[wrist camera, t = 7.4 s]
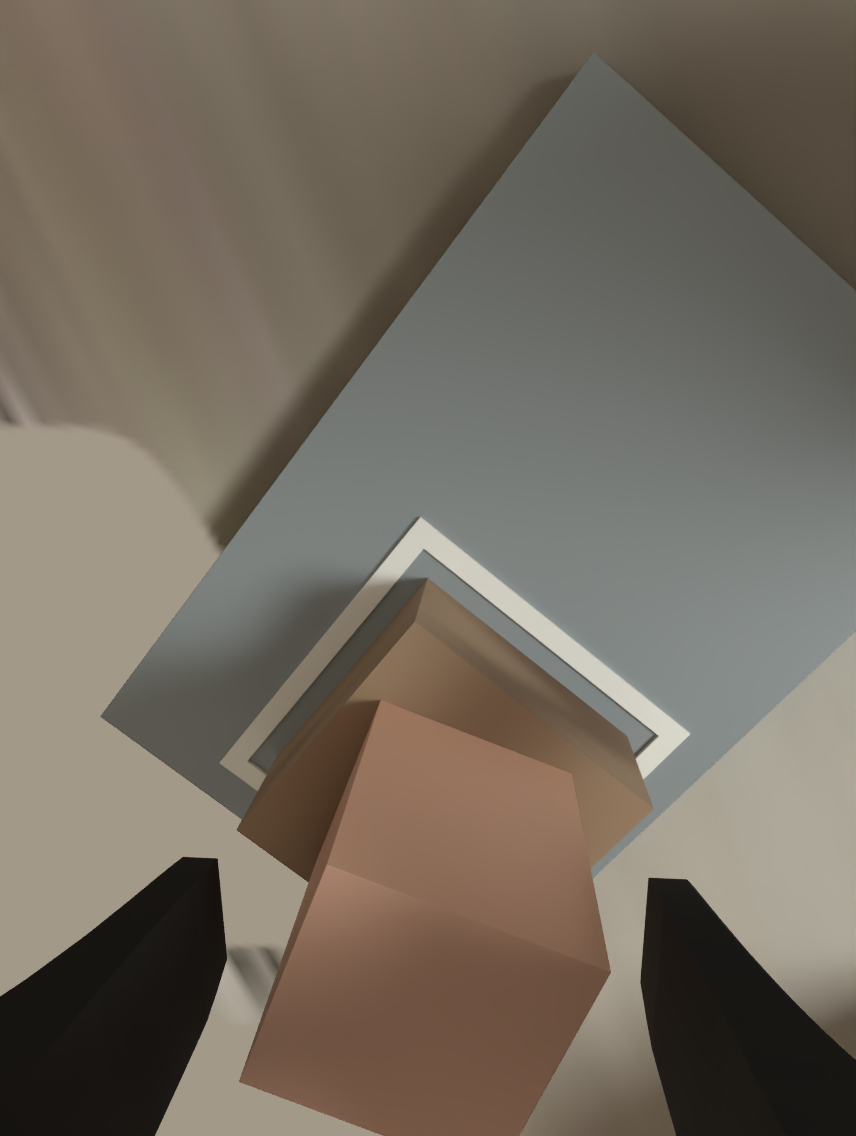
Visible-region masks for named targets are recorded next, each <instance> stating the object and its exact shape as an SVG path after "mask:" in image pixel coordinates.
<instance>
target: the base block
mask: <svg viewBox="0 0 856 1136" xmlns="http://www.w3.org/2000/svg"><path fill="white" fill-rule="evenodd" d="M380 700H382V701H384V702H387V703H390V704H392V705H395V706H397V707H400V708H403V709H405V710H408V711H410V712H413V713H416V714H418V715H421V716H423V717H426V718H429V719H431V720H434V721H436V722H439V723H441V724H444V725H447V726H449V727H452V728H454V729H457V730H460V731H462V732H465V733H467V734H470V735H473V736H475V737H478V738H480V739H483V740H486V741H488V742H491V743H493V744H496V745H499V746H501V747H504V748H506V749H509V750H511V751H514V752H517V753H519V754H522V755H524V756H527V757H530V758H532V759H535V760H537V761H540V762H543V763H545V764H548V765H550V766H553V767H556V768H558V769H561V770H563V771H566V772H569V773H571V774H572V778H573V783H574V788H575V793H576V798H577V803H578V808H579V813H580V818H581V823H582V828H583V833H584V839H585V844H586V849H587V854H588V859H589V864H590V869H591V868H592V867H593V866H594V865H595V864H596V863H597V862H598V861H599V860H600V859H601V858H602V857H603V856H604V855H605V854H606V853H607V852H609V851H610V850H611V849H612V848H613V847H614V846H615V845H616V844H617V843H618V842H619V841H620V840H621V839H622V838H623V837H624V836H625V835H626V834H628V833H629V832H630V831H631V830H632V829H633V828H634V827H635V826H636V825H637V824H638V823H639V822H640V821H641V820H642V819H643V818H644V817H646V816H647V815H648V814H649V813H650V812H651V811H652V810H653V809H654V808H653V805H652V802H651V800H650V797H649V794H648V791H647V789H646V786H645V783H644V781H643V778H642V775H641V772H640V770H639V767H638V764H637V761H636V759H635V756H634V753H633V750H632V748H631V745H630V742H629V740H628V737H627V735H625V734H624V733H623V732H622V731H620V730H619V729H618V728H616V727H615V726H614V725H613V724H611V723H610V722H609V721H608V720H606V719H605V718H604V717H603V716H601V715H600V714H599V713H598V712H596V711H595V710H594V709H593V708H591V707H590V706H589V705H587V704H586V703H585V702H584V701H582V700H581V699H580V698H579V697H577V696H576V695H575V694H574V693H572V692H571V691H570V690H569V689H567V688H566V687H565V686H564V685H562V684H561V683H560V682H558V681H557V680H556V679H555V678H553V677H552V676H551V675H550V674H548V673H547V672H546V671H545V670H543V669H542V668H541V667H540V666H538V665H537V664H536V663H535V662H533V661H532V660H531V659H529V658H528V657H527V656H526V655H524V654H523V653H522V652H521V651H519V650H518V649H517V648H516V647H514V646H513V645H512V644H511V643H509V642H508V641H507V640H506V639H504V638H503V637H502V636H500V635H499V634H498V633H497V632H495V631H494V630H493V629H492V628H490V627H489V626H488V625H487V624H485V623H484V622H483V621H482V620H480V619H479V618H478V617H477V616H475V615H474V614H473V613H471V612H470V611H469V610H468V609H466V608H465V607H464V606H463V605H461V604H460V603H459V602H458V601H456V600H455V599H454V598H453V597H451V596H450V595H449V594H448V593H446V592H445V591H444V590H442V589H441V588H440V587H439V586H437V585H436V584H435V583H434V582H432V581H431V580H430V579H429V578H427V579H426V580H425V582H424V583H423V584H422V585H421V586H420V588H419V589H418V590H417V591H416V592H415V593H414V595H413V596H412V597H411V598H410V599H409V601H408V602H407V603H406V604H405V605H404V607H403V608H402V609H401V610H400V611H399V612H398V614H397V615H396V616H395V617H394V618H393V620H392V621H391V622H390V623H389V624H388V625H387V627H386V628H385V629H384V630H383V631H382V633H381V634H380V635H379V636H378V637H377V639H376V640H375V641H374V642H373V643H372V644H371V646H370V647H369V648H368V649H367V650H366V652H365V653H364V654H363V655H362V656H361V657H360V659H359V660H358V661H357V662H356V663H355V665H354V666H353V667H352V668H351V669H350V671H349V672H348V673H347V674H346V675H345V676H344V678H343V679H342V680H341V681H340V682H339V684H338V685H337V686H336V687H335V688H334V689H333V691H332V692H331V693H330V694H329V695H328V697H327V698H326V699H325V700H324V701H323V703H322V704H321V705H320V706H319V707H318V708H317V710H316V711H315V712H314V713H313V714H312V716H311V717H310V718H309V719H308V720H307V721H306V723H305V724H304V725H303V726H302V727H301V729H300V730H299V731H298V732H297V733H296V735H295V736H294V737H293V738H292V739H291V740H290V742H289V743H288V744H287V745H286V746H285V748H284V749H283V750H282V751H281V752H280V753H279V755H278V756H277V757H276V759H275V760H274V762H273V764H272V766H271V768H270V770H269V771H268V773H267V775H266V777H265V779H264V781H263V782H262V784H261V786H260V788H259V790H258V792H257V793H256V795H255V797H254V799H253V801H252V803H251V805H250V806H249V808H248V810H247V812H246V814H245V816H244V817H243V819H242V821H241V823H240V825H239V827H238V829H237V831H238V832H240V833H241V834H243V835H244V836H245V837H247V838H248V839H250V840H251V841H252V842H254V843H255V844H257V845H258V846H259V847H261V848H262V849H263V850H265V851H266V852H267V853H269V854H270V855H272V856H273V857H274V858H276V859H277V860H279V861H280V862H281V863H283V864H284V865H285V866H287V867H288V868H290V869H291V870H292V871H294V872H295V873H296V874H298V875H299V876H301V877H302V878H303V879H305V880H306V881H307V882H309V880H310V878H311V875H312V872H313V869H314V866H315V863H316V861H317V858H318V856H319V853H320V851H321V848H322V846H323V843H324V841H325V838H326V836H327V833H328V831H329V828H330V826H331V823H332V821H333V818H334V816H335V813H336V811H337V808H338V806H339V803H340V801H341V798H342V796H343V793H344V791H345V788H346V786H347V783H348V781H349V778H350V776H351V773H352V771H353V768H354V766H355V763H356V761H357V758H358V756H359V753H360V751H361V748H362V746H363V743H364V741H365V738H366V736H367V733H368V731H369V728H370V726H371V723H372V721H373V718H374V716H375V713H376V711H377V708H378V705H379V703H380Z"/></svg>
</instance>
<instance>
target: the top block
mask: <svg viewBox="0 0 856 1136" xmlns="http://www.w3.org/2000/svg"><path fill="white" fill-rule="evenodd" d="M610 973H611V970H610V965H609V960H608V955H607V950H606V945H605V940H604V935H603V930H602V925H601V920H600V915H599V910H598V904H597V899H596V894H595V889H594V884H593V879H592V874H591V869H590V864H589V859H588V854H587V849H586V844H585V839H584V833H583V828H582V823H581V818H580V813H579V808H578V803H577V798H576V793H575V788H574V783H573V778H572V774H571V773H569V772H566V771H563V770H561V769H558V768H556V767H553V766H550V765H548V764H545V763H543V762H540V761H537V760H535V759H532V758H530V757H527V756H524V755H522V754H519V753H517V752H514V751H511V750H509V749H506V748H504V747H501V746H499V745H496V744H493V743H491V742H488V741H486V740H483V739H480V738H478V737H475V736H473V735H470V734H467V733H465V732H462V731H460V730H457V729H454V728H452V727H449V726H447V725H444V724H441V723H439V722H436V721H434V720H431V719H429V718H426V717H423V716H421V715H418V714H416V713H413V712H410V711H408V710H405V709H403V708H400V707H397V706H395V705H392V704H390V703H387V702H384V701H382V700H380V703H379V705H378V708H377V711H376V713H375V716H374V718H373V721H372V723H371V726H370V728H369V731H368V733H367V736H366V738H365V741H364V743H363V746H362V748H361V751H360V753H359V756H358V758H357V761H356V763H355V766H354V768H353V771H352V773H351V776H350V778H349V781H348V783H347V786H346V788H345V791H344V793H343V796H342V798H341V801H340V803H339V806H338V808H337V811H336V813H335V816H334V818H333V821H332V823H331V826H330V828H329V831H328V833H327V836H326V838H325V841H324V843H323V846H322V848H321V851H320V853H319V856H318V858H317V861H316V863H315V866H314V869H313V872H312V875H311V878H310V880H309V883H308V887H307V889H306V892H305V895H304V898H303V901H302V903H301V906H300V909H299V912H298V915H297V918H296V921H295V923H294V926H293V929H292V932H291V935H290V938H289V940H288V943H287V946H286V949H285V952H284V955H283V958H282V960H281V963H280V966H279V969H278V972H277V975H276V978H275V980H274V983H273V986H272V989H271V992H270V995H269V998H268V1000H267V1003H266V1006H265V1009H264V1012H263V1015H262V1018H261V1020H260V1023H259V1026H258V1029H257V1032H256V1035H255V1038H254V1041H253V1044H252V1046H251V1049H250V1052H249V1055H248V1058H247V1061H246V1063H245V1066H244V1069H243V1072H242V1075H241V1078H240V1080H239V1081H240V1082H241V1083H244V1084H247V1085H249V1086H252V1087H255V1088H257V1089H260V1090H262V1091H265V1092H268V1093H271V1094H273V1095H276V1096H279V1097H281V1098H284V1099H287V1100H289V1101H292V1102H295V1103H297V1104H300V1105H303V1106H305V1107H308V1108H311V1109H313V1110H316V1111H319V1112H321V1113H324V1114H327V1115H330V1116H332V1117H335V1118H338V1119H340V1120H343V1121H346V1122H349V1123H351V1124H354V1125H357V1126H359V1127H362V1128H365V1129H367V1130H370V1131H373V1132H375V1133H378V1134H381V1135H383V1136H519V1135H520V1133H521V1131H522V1129H523V1128H524V1126H525V1124H526V1122H527V1121H528V1119H529V1117H530V1115H531V1113H532V1112H533V1110H534V1108H535V1106H536V1105H537V1103H538V1101H539V1099H540V1097H541V1096H542V1094H543V1092H544V1090H545V1089H546V1087H547V1085H548V1083H549V1081H550V1080H551V1078H552V1076H553V1074H554V1073H555V1071H556V1069H557V1067H558V1065H559V1064H560V1062H561V1060H562V1058H563V1057H564V1055H565V1053H566V1051H567V1049H568V1048H569V1046H570V1044H571V1042H572V1041H573V1039H574V1037H575V1035H576V1033H577V1032H578V1030H579V1028H580V1026H581V1025H582V1023H583V1021H584V1019H585V1017H586V1016H587V1014H588V1012H589V1010H590V1009H591V1007H592V1005H593V1003H594V1001H595V1000H596V998H597V996H598V994H599V993H600V991H601V989H602V987H603V985H604V984H605V982H606V980H607V978H608V977H609V975H610Z"/></svg>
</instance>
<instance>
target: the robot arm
mask: <svg viewBox="0 0 856 1136" xmlns="http://www.w3.org/2000/svg"><path fill="white" fill-rule="evenodd" d="M226 961H227V953H226V943H225V933H224V922H223V912H222V901H221V891H220V879H219V869H218V859H216V858H193V857H182V858H181V859H180V860H179V861H177V862H176V863H175V864H173V865H172V866H171V867H170V868H168V869H167V870H166V871H165V872H163V873H162V874H161V875H160V876H158V877H157V878H156V879H155V880H154V881H152V882H151V883H150V884H149V885H148V886H147V887H145V888H144V889H143V890H142V891H140V892H139V893H138V894H137V895H135V896H134V897H133V898H132V899H131V900H129V901H128V902H127V903H126V904H124V905H123V906H122V907H121V908H120V909H118V910H117V911H116V912H114V913H113V914H112V915H111V916H109V917H108V918H107V919H106V920H104V921H103V922H102V923H101V924H100V925H98V926H97V927H96V928H94V929H93V930H92V931H91V932H89V933H88V934H87V935H86V936H84V937H83V938H82V939H80V940H79V941H78V942H77V943H75V944H73V945H72V946H71V947H69V948H68V949H67V950H65V951H64V952H63V953H61V954H60V955H59V956H57V957H56V958H54V959H53V960H52V961H50V962H49V963H48V964H46V965H45V966H44V967H42V968H41V969H40V970H38V971H37V972H35V973H34V974H33V975H31V976H30V977H28V978H27V979H26V980H24V981H23V982H21V983H20V984H18V985H17V986H15V987H14V988H12V989H11V990H9V991H8V992H6V993H5V994H3V995H2V996H0V1136H155V1134H156V1132H157V1130H158V1128H159V1126H160V1123H161V1121H162V1119H163V1117H164V1115H165V1112H166V1110H167V1108H168V1106H169V1104H170V1101H171V1099H172V1097H173V1095H174V1093H175V1091H176V1089H177V1086H178V1084H179V1082H180V1080H181V1078H182V1075H183V1073H184V1071H185V1069H186V1067H187V1064H188V1062H189V1060H190V1058H191V1056H192V1053H193V1051H194V1049H195V1047H196V1045H197V1042H198V1040H199V1038H200V1036H201V1033H202V1031H203V1029H204V1027H205V1024H206V1022H207V1020H208V1017H209V1014H210V1011H211V1008H212V1005H213V1002H214V999H215V996H216V993H217V990H218V986H219V983H220V980H221V977H222V973H223V970H224V967H225V964H226ZM640 982H641V988H642V994H643V1000H644V1006H645V1013H646V1019H647V1024H648V1030H649V1035H650V1041H651V1047H652V1051H653V1054H654V1058H655V1062H656V1065H657V1069H658V1072H659V1076H660V1079H661V1083H662V1087H663V1090H664V1094H665V1097H666V1101H667V1104H668V1108H669V1111H670V1115H671V1118H672V1122H673V1125H674V1129H675V1132H676V1136H856V1060H855V1059H854V1058H853V1057H852V1056H851V1055H849V1054H848V1053H847V1052H846V1051H845V1050H844V1049H843V1048H841V1047H840V1046H839V1045H838V1044H837V1043H836V1042H835V1041H834V1040H833V1039H832V1038H831V1037H830V1036H829V1035H827V1034H826V1033H825V1032H824V1031H823V1030H822V1029H821V1028H820V1027H819V1026H818V1025H817V1024H816V1023H815V1022H814V1021H813V1020H812V1019H811V1018H810V1017H809V1016H808V1015H807V1014H806V1013H805V1012H804V1011H803V1010H802V1009H801V1008H800V1007H799V1006H798V1005H797V1004H796V1003H795V1002H794V1001H793V1000H792V999H791V998H790V997H789V996H788V995H787V994H786V993H785V991H784V990H783V989H782V988H781V987H780V986H779V985H778V984H777V983H776V982H775V981H774V980H773V979H772V977H771V976H770V975H769V974H768V973H767V972H766V971H765V970H764V969H763V968H762V966H761V965H760V964H759V963H758V962H757V961H756V960H755V959H754V958H753V957H752V955H751V954H750V953H749V952H748V951H747V950H746V949H745V947H744V946H743V945H742V944H741V943H740V942H739V941H738V939H737V938H736V937H735V936H734V935H733V933H732V932H731V931H730V930H729V929H728V928H727V926H726V925H725V924H724V923H723V922H722V920H721V919H720V918H719V917H718V916H717V914H716V913H715V912H714V911H713V910H712V908H711V907H710V906H709V905H708V903H707V902H706V901H705V900H704V899H703V897H702V896H701V895H700V894H699V892H698V891H697V890H696V889H695V888H694V886H693V885H692V884H691V883H690V882H689V881H688V880H686V879H664V878H649V880H648V892H647V905H646V918H645V930H644V943H643V956H642V969H641V981H640Z"/></svg>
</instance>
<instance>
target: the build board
mask: <svg viewBox="0 0 856 1136" xmlns="http://www.w3.org/2000/svg"><path fill="white" fill-rule="evenodd" d="M427 578H429V579H430V580H431V581H432V582H434V583H435V584H436V585H437V586H439V587H440V588H441V589H442V590H444V591H445V592H446V593H448V594H449V595H450V596H451V597H453V598H454V599H455V600H456V601H458V602H459V603H460V604H461V605H463V606H464V607H465V608H466V609H468V610H469V611H470V612H471V613H473V614H474V615H475V616H477V617H478V618H479V619H480V620H482V621H483V622H484V623H485V624H487V625H488V626H489V627H490V628H492V629H493V630H494V631H495V632H497V633H498V634H499V635H500V636H502V637H503V638H504V639H506V640H507V641H508V642H509V643H511V644H512V645H513V646H514V647H516V648H517V649H518V650H519V651H521V652H522V653H523V654H524V655H526V656H527V657H528V658H529V659H531V660H532V661H533V662H535V663H536V664H537V665H538V666H540V667H541V668H542V669H543V670H545V671H546V672H547V673H548V674H550V675H551V676H552V677H553V678H555V679H556V680H557V681H558V682H560V683H561V684H562V685H564V686H565V687H566V688H567V689H569V690H570V691H571V692H572V693H574V694H575V695H576V696H577V697H579V698H580V699H581V700H582V701H584V702H585V703H586V704H587V705H589V706H590V707H591V708H593V709H594V710H595V711H596V712H598V713H599V714H600V715H601V716H603V717H604V718H605V719H606V720H608V721H609V722H610V723H611V724H613V725H614V726H615V727H616V728H618V729H619V730H620V731H622V732H623V733H624V734H625V735H627V737H628V740H629V742H630V745H631V748H632V750H633V753H634V756H635V759H636V761H637V764H638V767H639V770H640V772H641V775H642V778H643V781H644V783H645V786H646V789H647V791H648V794H649V797H650V800H651V802H652V805H653V808H654V809H653V810H652V811H651V812H650V813H649V814H648V815H647V816H646V817H644V818H643V819H642V820H641V821H640V822H639V823H638V824H637V825H636V826H635V827H634V828H633V829H632V830H631V831H630V832H629V833H628V834H626V835H625V836H624V837H623V838H622V839H621V840H620V841H619V842H618V843H617V844H616V845H615V846H614V847H613V848H612V849H611V850H610V851H609V852H607V853H606V854H605V855H604V856H603V857H602V858H601V859H600V860H599V861H598V862H597V863H596V864H595V865H594V866H593V867H592V868H591V874H592V879H593V878H594V877H595V876H596V875H597V874H598V873H599V872H600V871H601V870H602V869H603V868H604V867H605V866H606V865H607V864H609V863H610V862H611V861H612V860H613V859H614V858H615V857H616V856H617V855H618V854H619V853H620V852H621V851H622V850H623V849H624V848H626V847H627V846H628V845H629V844H630V843H631V842H632V841H633V840H634V839H635V838H636V837H637V836H638V835H639V834H640V833H642V832H643V831H644V830H645V829H646V828H647V827H648V826H649V825H650V824H651V823H652V822H653V821H654V820H655V819H656V818H657V817H659V816H660V815H661V814H662V813H663V812H664V811H665V810H666V809H667V808H668V807H669V806H670V805H671V804H672V803H673V802H674V801H676V800H677V799H678V798H679V797H680V796H681V795H682V794H683V793H684V792H685V791H686V790H687V789H688V788H689V787H690V786H691V785H693V784H694V783H695V782H696V781H697V780H698V779H699V778H700V777H701V776H702V775H703V774H704V773H705V772H706V771H707V770H708V769H710V768H711V767H712V766H713V765H714V764H715V763H716V762H717V761H718V760H719V759H720V758H721V757H722V756H723V755H724V754H726V753H727V752H728V751H729V750H730V749H731V748H732V747H733V746H734V745H735V744H736V743H737V742H738V741H739V740H740V739H741V738H743V737H744V736H745V735H746V734H747V733H748V732H749V731H750V730H751V729H752V728H753V727H754V726H755V725H756V724H757V723H758V722H760V721H761V720H762V719H763V718H764V717H765V716H766V715H767V714H768V713H769V712H770V711H771V710H772V709H773V708H774V707H775V706H777V705H778V704H779V703H780V702H781V701H782V700H783V699H784V698H785V697H786V696H787V695H788V694H789V693H790V692H791V691H792V690H794V689H795V688H796V687H797V686H798V685H799V684H800V683H801V682H802V681H803V680H804V679H805V678H806V677H807V676H808V675H809V674H811V673H812V672H813V671H814V670H815V669H816V668H817V667H818V666H819V665H820V664H821V663H822V662H823V661H824V660H825V659H827V658H828V657H829V656H830V655H831V654H832V653H833V652H834V651H835V650H836V649H837V648H838V647H839V646H840V645H841V644H842V643H844V642H845V641H846V640H847V639H848V638H849V637H850V636H851V635H852V634H853V633H854V632H855V631H856V290H855V289H854V288H852V287H851V286H850V285H849V284H848V283H847V282H846V281H845V280H844V279H843V278H841V277H840V276H839V275H838V274H837V273H836V272H835V271H834V270H833V269H832V268H830V267H829V266H828V265H827V264H826V263H825V262H824V261H823V260H822V259H821V258H820V257H818V256H817V255H816V254H815V253H814V252H813V251H812V250H811V249H810V248H809V247H807V246H806V245H805V244H804V243H803V242H802V241H801V240H800V239H799V238H798V237H796V236H795V235H794V234H793V233H792V232H791V231H790V230H789V229H788V228H787V227H786V226H784V225H783V224H782V223H781V222H780V221H779V220H778V219H777V218H776V217H775V216H773V215H772V214H771V213H770V212H769V211H768V210H767V209H766V208H765V207H764V206H762V205H761V204H760V203H759V202H758V201H757V200H756V199H755V198H754V197H753V196H752V195H750V194H749V193H748V192H747V191H746V190H745V189H744V188H743V187H742V186H741V185H739V184H738V183H737V182H736V181H735V180H734V179H733V178H732V177H731V176H730V175H729V174H727V173H726V172H725V171H724V170H723V169H722V168H721V167H720V166H719V165H718V164H716V163H715V162H714V161H713V160H712V159H711V158H710V157H709V156H708V155H707V154H705V153H704V152H703V151H702V150H701V149H700V148H699V147H698V146H697V145H696V144H695V143H693V142H692V141H691V140H690V139H689V138H688V137H687V136H686V135H685V134H684V133H682V132H681V131H680V130H679V129H678V128H677V127H676V126H675V125H674V124H673V123H671V122H670V121H669V120H668V119H667V118H666V117H665V116H664V115H663V114H662V113H661V112H659V111H658V110H657V109H656V108H655V107H654V106H653V105H652V104H651V103H650V102H648V101H647V100H646V99H645V98H644V97H643V96H642V95H641V94H640V93H639V92H637V91H636V90H635V89H634V88H633V87H632V86H631V85H630V84H629V83H628V82H627V81H625V80H624V79H623V78H622V77H621V76H620V75H619V74H618V73H617V72H616V71H614V70H613V69H612V68H611V67H610V66H609V65H608V64H607V63H606V62H605V61H604V60H602V59H601V58H600V57H599V56H598V55H597V54H596V53H595V52H593V53H592V55H591V56H590V57H589V59H588V60H587V62H586V63H585V64H584V66H583V67H582V68H581V70H580V71H579V72H578V74H577V75H576V76H575V78H574V79H573V80H572V82H571V83H570V84H569V86H568V87H567V88H566V90H565V91H564V93H563V94H562V95H561V97H560V98H559V99H558V101H557V102H556V103H555V105H554V106H553V107H552V109H551V110H550V111H549V113H548V114H547V115H546V117H545V118H544V119H543V121H542V122H541V123H540V125H539V126H538V128H537V129H536V130H535V132H534V133H533V134H532V136H531V137H530V138H529V140H528V141H527V142H526V144H525V145H524V146H523V148H522V149H521V150H520V152H519V153H518V154H517V156H516V157H515V159H514V160H513V161H512V163H511V164H510V165H509V167H508V168H507V169H506V171H505V172H504V173H503V175H502V176H501V177H500V179H499V180H498V181H497V183H496V184H495V185H494V187H493V188H492V190H491V191H490V192H489V194H488V195H487V196H486V198H485V199H484V200H483V202H482V203H481V204H480V206H479V207H478V208H477V210H476V211H475V212H474V214H473V215H472V216H471V218H470V219H469V221H468V222H467V223H466V225H465V226H464V227H463V229H462V230H461V231H460V233H459V234H458V235H457V237H456V238H455V239H454V241H453V242H452V243H451V245H450V246H449V247H448V249H447V250H446V252H445V253H444V254H443V256H442V257H441V258H440V260H439V261H438V262H437V264H436V265H435V266H434V268H433V269H432V270H431V272H430V273H429V274H428V276H427V277H426V278H425V280H424V281H423V283H422V284H421V285H420V287H419V288H418V289H417V291H416V292H415V293H414V295H413V296H412V297H411V299H410V300H409V301H408V303H407V304H406V305H405V307H404V308H403V309H402V311H401V312H400V314H399V315H398V316H397V318H396V319H395V320H394V322H393V323H392V324H391V326H390V327H389V328H388V330H387V331H386V332H385V334H384V335H383V336H382V338H381V339H380V340H379V342H378V343H377V345H376V346H375V347H374V349H373V350H372V351H371V353H370V354H369V355H368V357H367V358H366V359H365V361H364V362H363V363H362V365H361V366H360V367H359V369H358V370H357V371H356V373H355V374H354V376H353V377H352V378H351V380H350V381H349V382H348V384H347V385H346V386H345V388H344V389H343V390H342V392H341V393H340V394H339V396H338V397H337V398H336V400H335V401H334V402H333V404H332V405H331V407H330V408H329V409H328V411H327V412H326V413H325V415H324V416H323V417H322V419H321V420H320V421H319V423H318V424H317V425H316V427H315V428H314V429H313V431H312V432H311V433H310V435H309V436H308V438H307V439H306V440H305V442H304V443H303V444H302V446H301V447H300V448H299V450H298V451H297V452H296V454H295V455H294V456H293V458H292V459H291V460H290V462H289V463H288V464H287V466H286V467H285V469H284V470H283V471H282V473H281V474H280V475H279V477H278V478H277V479H276V481H275V482H274V483H273V485H272V486H271V487H270V489H269V490H268V491H267V493H266V494H265V495H264V497H263V498H262V499H261V501H260V502H259V504H258V505H257V506H256V508H255V509H254V510H253V512H252V513H251V514H250V516H249V517H248V518H247V520H246V521H245V522H244V524H243V525H242V526H241V528H240V529H239V530H238V532H237V533H236V535H235V536H234V537H233V539H232V540H231V541H230V543H229V544H228V545H227V547H226V548H225V549H224V551H223V552H222V553H221V555H220V556H219V557H218V559H217V560H216V562H215V563H214V564H213V566H212V567H211V568H210V570H209V571H208V572H207V574H206V575H205V576H204V578H203V579H202V580H201V582H200V583H199V585H198V586H197V587H196V589H195V590H194V591H193V592H192V594H191V595H190V597H189V598H188V599H187V601H186V602H185V603H184V605H183V606H182V608H181V609H180V610H179V611H178V613H177V614H176V615H175V617H174V618H173V619H172V621H171V622H170V624H169V625H168V626H167V628H166V629H165V630H164V632H163V633H162V634H161V636H160V637H159V638H158V640H157V641H156V642H155V644H154V645H153V646H152V648H151V649H150V650H149V652H148V653H147V654H146V656H145V657H144V659H143V660H142V661H141V663H140V664H139V665H138V667H137V668H136V669H135V671H134V672H133V673H132V675H131V676H130V677H129V679H128V680H127V681H126V683H125V684H124V685H123V687H122V688H121V690H120V691H119V692H118V694H117V695H116V696H115V698H114V699H113V701H112V702H111V703H110V704H109V706H108V707H107V709H106V710H105V711H104V713H103V714H102V715H101V717H102V718H103V719H105V720H106V721H107V722H109V723H110V724H112V725H113V726H114V727H116V728H117V729H118V730H120V731H121V732H122V733H124V734H125V735H127V736H128V737H129V738H131V739H132V740H133V741H135V742H136V743H138V744H139V745H140V746H142V747H143V748H145V749H146V750H147V751H149V752H150V753H151V754H153V755H154V756H155V757H157V758H158V759H160V760H161V761H162V762H164V763H165V764H167V765H168V766H169V767H171V768H172V769H173V770H175V771H176V772H177V773H179V774H181V775H182V776H183V777H184V778H186V779H187V780H189V781H190V782H191V783H193V784H194V785H195V786H197V787H198V788H199V789H201V790H202V791H204V792H205V793H206V794H208V795H209V796H210V797H212V798H213V799H215V800H216V801H217V802H219V803H220V804H222V805H223V806H224V807H226V808H227V809H228V810H230V811H231V812H232V813H234V814H235V815H237V816H238V817H240V818H241V819H243V817H244V816H245V814H246V812H247V810H248V808H249V806H250V805H251V803H252V801H253V799H254V797H255V795H256V793H257V792H258V790H259V788H260V786H261V784H262V782H263V781H264V779H265V777H266V775H267V773H268V771H269V770H270V768H271V766H272V764H273V762H274V760H275V759H276V757H277V756H278V755H279V753H280V752H281V751H282V750H283V749H284V748H285V746H286V745H287V744H288V743H289V742H290V740H291V739H292V738H293V737H294V736H295V735H296V733H297V732H298V731H299V730H300V729H301V727H302V726H303V725H304V724H305V723H306V721H307V720H308V719H309V718H310V717H311V716H312V714H313V713H314V712H315V711H316V710H317V708H318V707H319V706H320V705H321V704H322V703H323V701H324V700H325V699H326V698H327V697H328V695H329V694H330V693H331V692H332V691H333V689H334V688H335V687H336V686H337V685H338V684H339V682H340V681H341V680H342V679H343V678H344V676H345V675H346V674H347V673H348V672H349V671H350V669H351V668H352V667H353V666H354V665H355V663H356V662H357V661H358V660H359V659H360V657H361V656H362V655H363V654H364V653H365V652H366V650H367V649H368V648H369V647H370V646H371V644H372V643H373V642H374V641H375V640H376V639H377V637H378V636H379V635H380V634H381V633H382V631H383V630H384V629H385V628H386V627H387V625H388V624H389V623H390V622H391V621H392V620H393V618H394V617H395V616H396V615H397V614H398V612H399V611H400V610H401V609H402V608H403V607H404V605H405V604H406V603H407V602H408V601H409V599H410V598H411V597H412V596H413V595H414V593H415V592H416V591H417V590H418V589H419V588H420V586H421V585H422V584H423V583H424V582H425V580H426V579H427Z"/></svg>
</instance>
